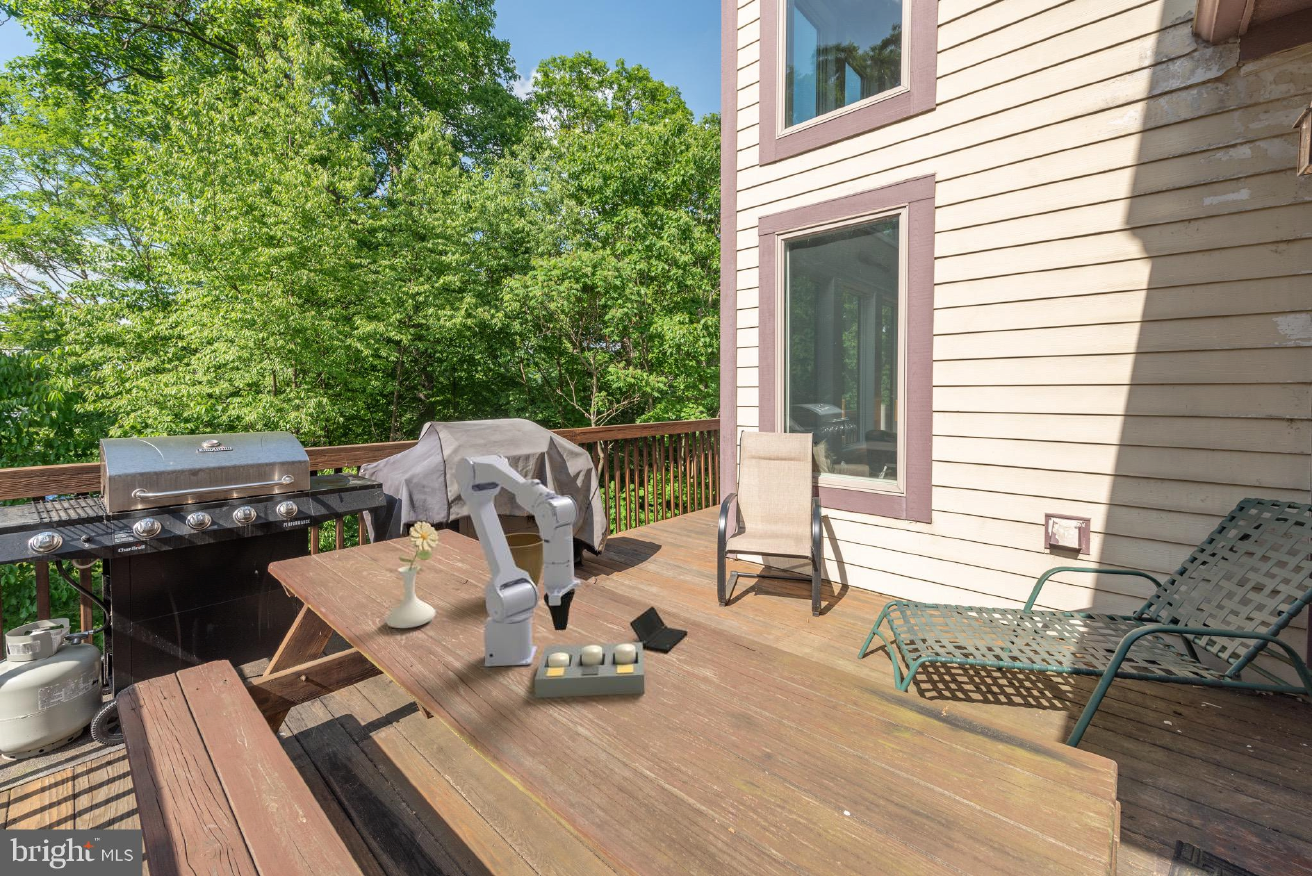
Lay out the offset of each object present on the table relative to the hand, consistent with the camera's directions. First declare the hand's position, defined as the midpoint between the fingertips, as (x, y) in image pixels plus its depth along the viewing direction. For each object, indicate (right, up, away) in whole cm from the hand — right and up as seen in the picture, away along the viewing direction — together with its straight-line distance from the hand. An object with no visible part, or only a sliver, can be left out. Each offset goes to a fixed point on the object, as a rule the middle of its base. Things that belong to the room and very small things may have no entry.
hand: (560, 628), depth 110 cm
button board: (+6, -10, +1) cm, 12 cm away
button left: (0, -9, +1) cm, 9 cm away
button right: (+13, -7, +1) cm, 14 cm away
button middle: (+6, -7, +1) cm, 9 cm away
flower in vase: (-41, -9, +31) cm, 52 cm away
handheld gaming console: (+19, -9, +18) cm, 28 cm away
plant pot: (-19, -7, +49) cm, 53 cm away
